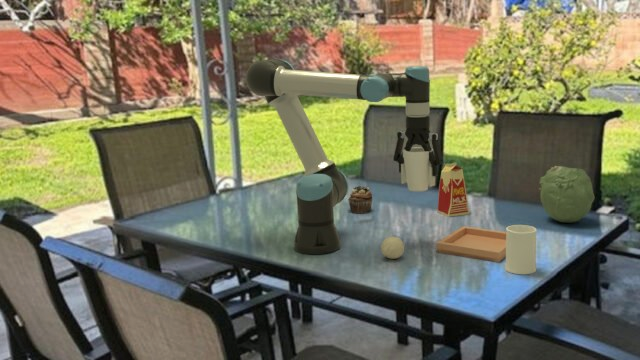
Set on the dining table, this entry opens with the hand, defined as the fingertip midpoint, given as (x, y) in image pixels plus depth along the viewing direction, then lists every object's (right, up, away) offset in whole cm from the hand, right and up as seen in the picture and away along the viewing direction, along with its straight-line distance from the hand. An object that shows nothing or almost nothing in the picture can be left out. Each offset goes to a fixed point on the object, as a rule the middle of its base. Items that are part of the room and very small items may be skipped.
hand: (418, 184), depth 204 cm
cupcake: (-16, -11, +44) cm, 48 cm away
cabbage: (+54, -13, +16) cm, 58 cm away
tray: (+19, -20, -6) cm, 28 cm away
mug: (+26, -24, -25) cm, 43 cm away
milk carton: (+19, -11, +35) cm, 41 cm away
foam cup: (0, -2, 0) cm, 2 cm away
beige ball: (-10, -23, -12) cm, 27 cm away
